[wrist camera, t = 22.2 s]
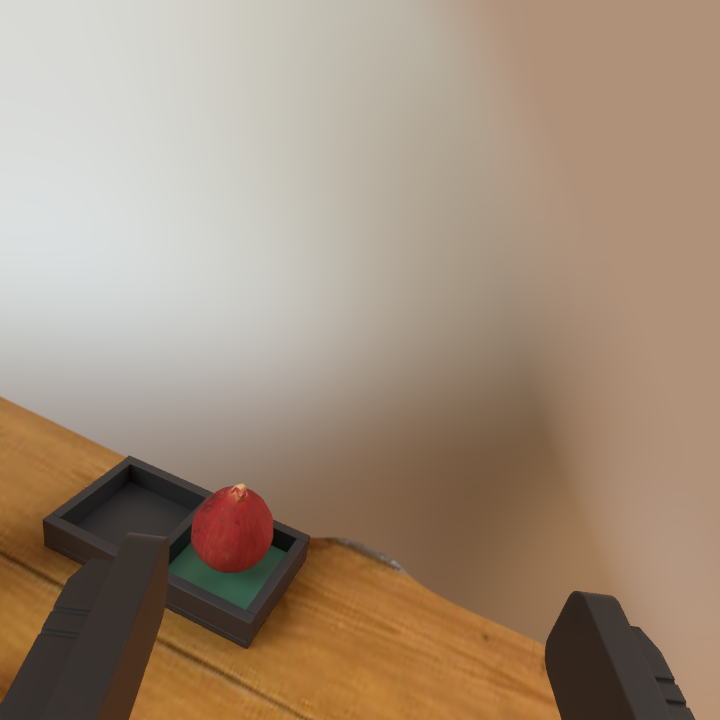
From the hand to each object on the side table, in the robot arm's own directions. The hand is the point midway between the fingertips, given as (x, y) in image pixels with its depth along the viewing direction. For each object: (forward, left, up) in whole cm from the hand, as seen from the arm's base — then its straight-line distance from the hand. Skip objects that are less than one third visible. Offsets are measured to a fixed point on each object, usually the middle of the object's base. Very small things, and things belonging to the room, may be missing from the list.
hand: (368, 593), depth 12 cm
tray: (+9, -25, -27) cm, 38 cm away
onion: (+5, -24, -27) cm, 36 cm away
